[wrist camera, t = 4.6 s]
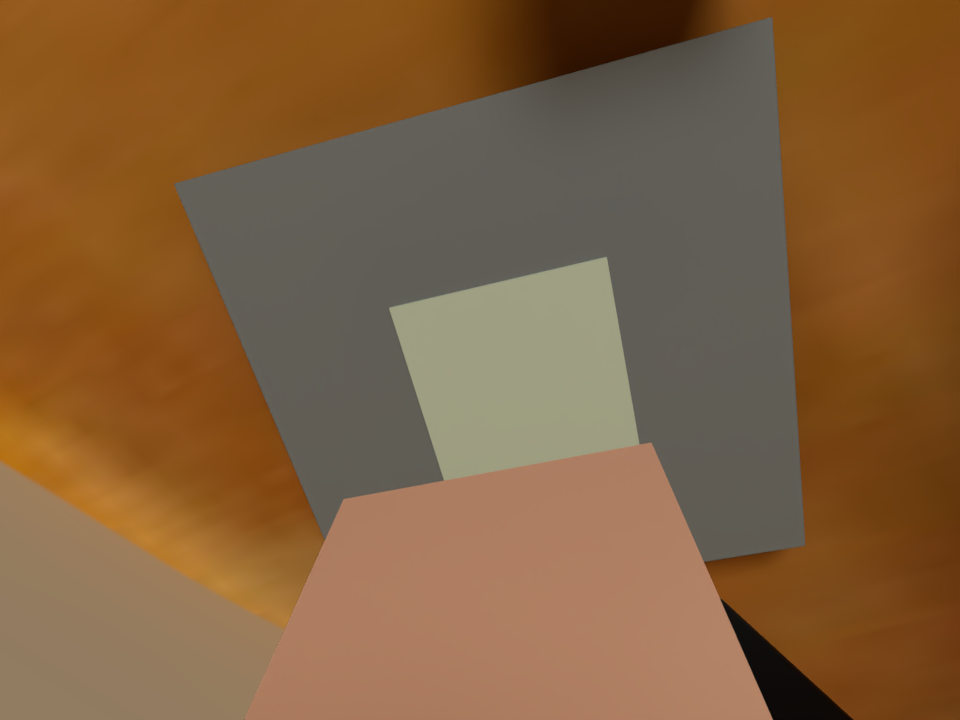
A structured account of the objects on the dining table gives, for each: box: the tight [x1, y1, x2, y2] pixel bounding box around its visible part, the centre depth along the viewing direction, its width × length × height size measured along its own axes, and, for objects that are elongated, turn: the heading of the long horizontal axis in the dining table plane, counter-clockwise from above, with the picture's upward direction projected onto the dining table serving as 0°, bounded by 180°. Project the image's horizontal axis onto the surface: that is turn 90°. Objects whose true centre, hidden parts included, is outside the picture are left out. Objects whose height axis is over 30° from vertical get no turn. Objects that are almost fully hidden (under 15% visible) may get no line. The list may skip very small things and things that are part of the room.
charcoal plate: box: [174, 17, 805, 562], centre depth 17 cm, size 15×15×2 cm
